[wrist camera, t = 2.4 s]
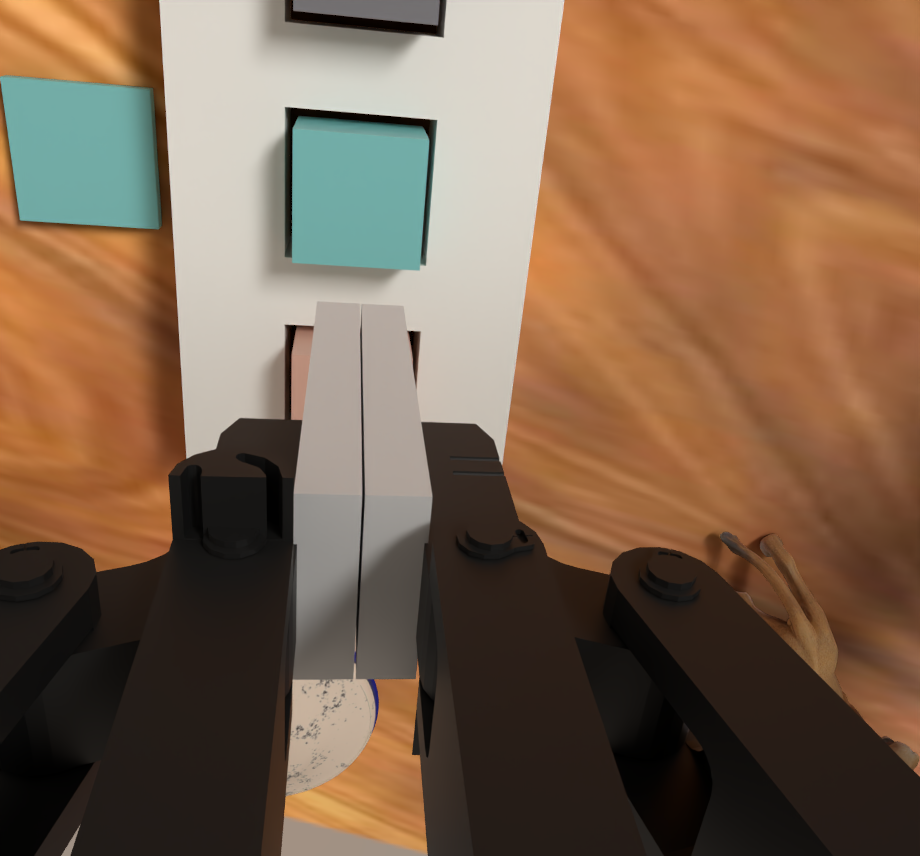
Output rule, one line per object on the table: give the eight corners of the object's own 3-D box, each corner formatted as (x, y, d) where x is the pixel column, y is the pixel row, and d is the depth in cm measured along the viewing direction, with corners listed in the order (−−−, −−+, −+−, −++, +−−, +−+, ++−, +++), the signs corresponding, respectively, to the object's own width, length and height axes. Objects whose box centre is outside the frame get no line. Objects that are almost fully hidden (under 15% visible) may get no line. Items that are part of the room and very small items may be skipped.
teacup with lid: (395, 520, 40) (408, 702, 30) (350, 663, 44) (347, 868, 34) (134, 469, 37) (50, 649, 27) (109, 626, 41) (27, 836, 31)
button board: (565, -149, 29) (586, -164, 26) (491, 435, 39) (501, 468, 36) (167, -203, 27) (146, -224, 24) (198, 425, 37) (186, 459, 34)
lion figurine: (857, 676, 49) (955, 810, 41) (774, 718, 49) (854, 858, 41) (761, 501, 42) (856, 620, 34) (668, 554, 43) (738, 681, 35)
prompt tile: (153, 87, 31) (149, 89, 30) (162, 225, 33) (159, 229, 32) (6, 75, 30) (-1, 76, 29) (25, 216, 32) (20, 220, 32)
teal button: (422, 126, 30) (429, 139, 28) (414, 246, 32) (419, 270, 30) (298, 115, 30) (292, 128, 27) (297, 238, 32) (292, 262, 29)
